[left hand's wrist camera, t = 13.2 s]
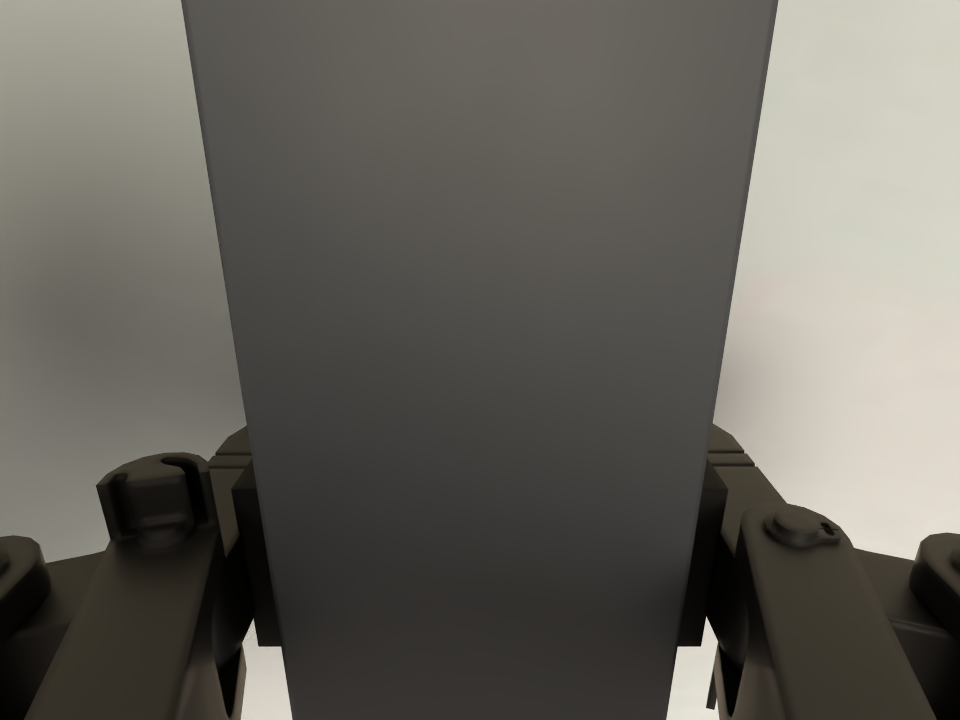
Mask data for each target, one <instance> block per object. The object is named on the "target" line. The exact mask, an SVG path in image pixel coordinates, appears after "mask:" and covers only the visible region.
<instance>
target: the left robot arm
mask: <svg viewBox="0 0 960 720" xmlns="http://www.w3.org/2000/svg"><path fill="white" fill-rule="evenodd" d="M754 464H755V463H754V462H753V461H752V460H751V458H750V457H749V456H748V455H747V454H744V450H743V448H742V447H741V446H740V445H739V444H738V442H737V441H736V440H735V439H734V437H733V436H732V435H731V434H729V433H727V432H726V431H724V430H722V429H721V428H719V427H718V426H716V425H714V424H713V423H712V429H711V435H710V441H709V448H708V454H707V461H706V467H705V473H704V480H703V486H702V493H701V499H700V505H699V512H698V518H697V525H696V531H695V538H694V544H693V550H692V557H691V563H690V570H689V576H688V582H687V589H686V595H685V602H684V608H683V614H682V621H681V627H680V634H679V640H678V646H701V643H702V637H703V631H704V626H705V620H706V616H707V618H708V620H709V623H710V625H711V627H712V629H713V631H714V633H715V636H716V638H717V640H718V645H717V650H716V656H715V661H714V666H713V672H712V677H711V682H710V687H709V693H708V699H707V705H706V708H709V709H713V710H714V709H715V704H716V699H717V702H718V710H719V719H720V720H960V534H954V533H941V534H933V535H929V536H928V537H927V538H925V539H924V540H923V541H921V543H920V546H919V549H918V552H917V555H916V558H915V561H914V560H909V559H904V558H898V557H893V556H888V555H883V554H878V553H873V552H868V551H864V550H860V549H856V548H854V547H853V545H852V543H851V541H850V539H849V538H848V536H847V535H846V534H845V533H844V531H843V530H842V529H841V528H840V527H839V526H838V525H836V524H835V523H834V522H832V521H831V520H829V519H828V518H826V517H825V516H823V515H821V514H818V513H816V512H814V511H811V510H809V509H807V508H804V507H800V506H796V505H791V504H787V503H786V502H785V500H784V499H783V498H782V497H781V496H780V494H779V493H778V492H777V491H776V489H775V488H774V487H773V486H772V484H771V483H770V482H769V481H768V479H767V478H766V477H765V476H764V474H763V473H762V472H761V471H760V470H759V468H758V467H755V465H754ZM96 488H97V491H98V495H99V499H100V502H101V506H102V510H103V513H104V517H105V521H106V524H107V528H108V532H109V535H110V539H111V540H110V542H109V544H108V546H107V548H106V550H105V551H102V552H99V553H95V554H90V555H85V556H80V557H75V558H70V559H65V560H60V561H55V562H50V563H45V560H44V557H43V554H42V551H41V548H40V545H39V544H38V543H37V542H35V541H34V540H33V539H31V538H28V537H21V536H5V537H0V720H241V712H242V703H243V695H244V686H245V678H246V662H245V656H244V650H243V645H242V642H243V640H244V638H245V635H246V633H247V631H248V629H249V627H250V624H251V622H252V620H253V618H254V623H255V629H256V634H257V640H258V646H281V641H280V635H279V628H278V622H277V615H276V609H275V602H274V596H273V589H272V583H271V576H270V570H269V564H268V557H267V551H266V544H265V538H264V531H263V525H262V518H261V512H260V505H259V499H258V493H257V486H256V480H255V473H254V467H253V460H252V454H251V447H250V441H249V435H248V428H247V426H246V427H244V428H242V429H241V430H239V431H237V432H236V433H234V434H233V435H231V436H229V437H228V438H227V439H226V440H225V442H224V443H223V444H222V445H221V447H220V448H219V449H218V450H217V452H216V456H213V457H212V458H211V459H210V460H209V462H207V461H206V460H205V459H203V458H202V457H200V456H199V455H194V454H190V453H185V452H179V453H162V454H157V455H152V456H147V457H143V458H140V459H137V460H135V461H132V462H129V463H126V464H124V465H122V466H120V467H118V468H117V469H115V470H113V471H112V472H110V473H108V474H107V475H106V476H105V477H104V478H103V479H102V480H101V481H100V482H99V483H98V484H97V485H96Z"/></svg>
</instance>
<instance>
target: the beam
mask: <svg viewBox="0 0 960 720" xmlns="http://www.w3.org/2000/svg"><path fill="white" fill-rule="evenodd" d="M181 2H182V9H183V15H184V22H185V28H186V35H187V41H188V47H189V54H190V60H191V67H192V73H193V80H194V86H195V93H196V99H197V106H198V112H199V118H200V125H201V131H202V138H203V144H204V151H205V157H206V164H207V170H208V177H209V183H210V189H211V196H212V202H213V209H214V215H215V222H216V228H217V235H218V241H219V247H220V254H221V260H222V267H223V273H224V280H225V286H226V293H227V299H228V306H229V312H230V318H231V325H232V331H233V338H234V344H235V351H236V357H237V364H238V370H239V376H240V383H241V389H242V396H243V402H244V409H245V415H246V422H247V428H248V435H249V441H250V447H251V454H252V460H253V467H254V473H255V480H256V486H257V493H258V499H259V505H260V512H261V518H262V525H263V531H264V538H265V544H266V551H267V557H268V564H269V570H270V576H271V583H272V589H273V596H274V602H275V609H276V615H277V622H278V628H279V635H280V641H281V647H282V654H283V660H284V667H285V673H286V680H287V686H288V693H289V699H290V705H291V712H292V718H293V720H666V717H667V711H668V704H669V698H670V691H671V685H672V679H673V672H674V666H675V659H676V653H677V647H678V640H679V634H680V627H681V621H682V614H683V608H684V602H685V595H686V589H687V582H688V576H689V570H690V563H691V557H692V550H693V544H694V538H695V531H696V525H697V518H698V512H699V505H700V499H701V493H702V486H703V480H704V473H705V467H706V461H707V454H708V448H709V441H710V435H711V429H712V422H713V416H714V409H715V403H716V396H717V390H718V384H719V377H720V371H721V364H722V358H723V352H724V345H725V339H726V332H727V326H728V320H729V313H730V307H731V300H732V294H733V287H734V281H735V275H736V268H737V262H738V255H739V249H740V243H741V236H742V230H743V223H744V217H745V211H746V204H747V198H748V191H749V185H750V179H751V172H752V166H753V159H754V153H755V146H756V140H757V134H758V127H759V121H760V114H761V108H762V102H763V95H764V89H765V82H766V76H767V70H768V63H769V57H770V50H771V44H772V37H773V31H774V25H775V18H776V12H777V5H778V0H181Z"/></svg>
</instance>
